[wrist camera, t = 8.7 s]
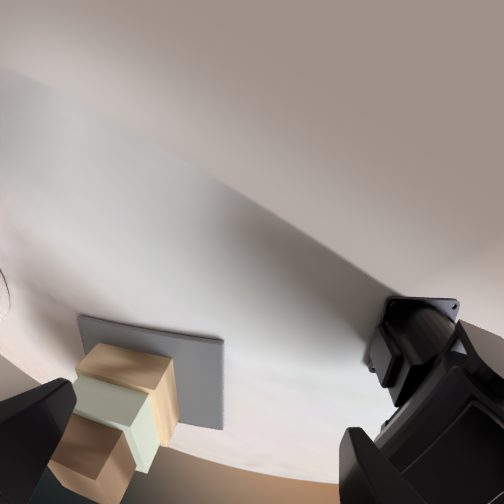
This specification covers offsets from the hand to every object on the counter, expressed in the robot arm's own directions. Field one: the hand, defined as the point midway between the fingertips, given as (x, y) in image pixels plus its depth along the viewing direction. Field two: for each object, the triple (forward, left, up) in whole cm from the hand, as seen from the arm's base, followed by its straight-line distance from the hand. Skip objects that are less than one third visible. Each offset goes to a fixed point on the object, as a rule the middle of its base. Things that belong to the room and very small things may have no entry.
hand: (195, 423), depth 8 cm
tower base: (+9, +11, -12) cm, 19 cm away
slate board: (+8, +11, -13) cm, 19 cm away
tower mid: (+9, +11, -8) cm, 17 cm away
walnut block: (+9, +11, -5) cm, 15 cm away
